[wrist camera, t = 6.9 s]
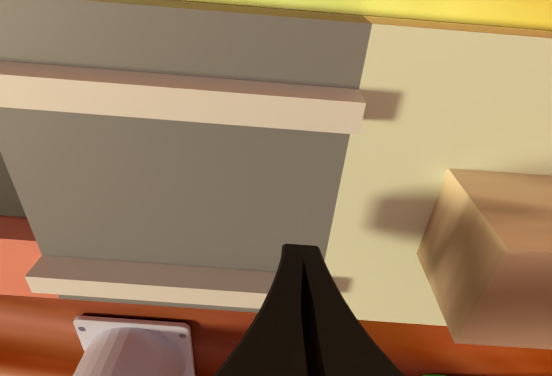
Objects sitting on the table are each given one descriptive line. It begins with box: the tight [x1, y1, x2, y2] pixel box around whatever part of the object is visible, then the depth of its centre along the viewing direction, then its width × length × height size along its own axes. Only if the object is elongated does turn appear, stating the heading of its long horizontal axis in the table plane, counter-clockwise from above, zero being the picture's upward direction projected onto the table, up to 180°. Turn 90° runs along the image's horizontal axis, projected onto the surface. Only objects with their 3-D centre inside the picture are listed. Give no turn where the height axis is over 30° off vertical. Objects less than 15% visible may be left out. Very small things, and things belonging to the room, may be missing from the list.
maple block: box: [416, 169, 552, 349], centre depth 15 cm, size 5×5×5 cm
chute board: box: [0, 0, 552, 326], centre depth 17 cm, size 16×42×4 cm, turn 86°
